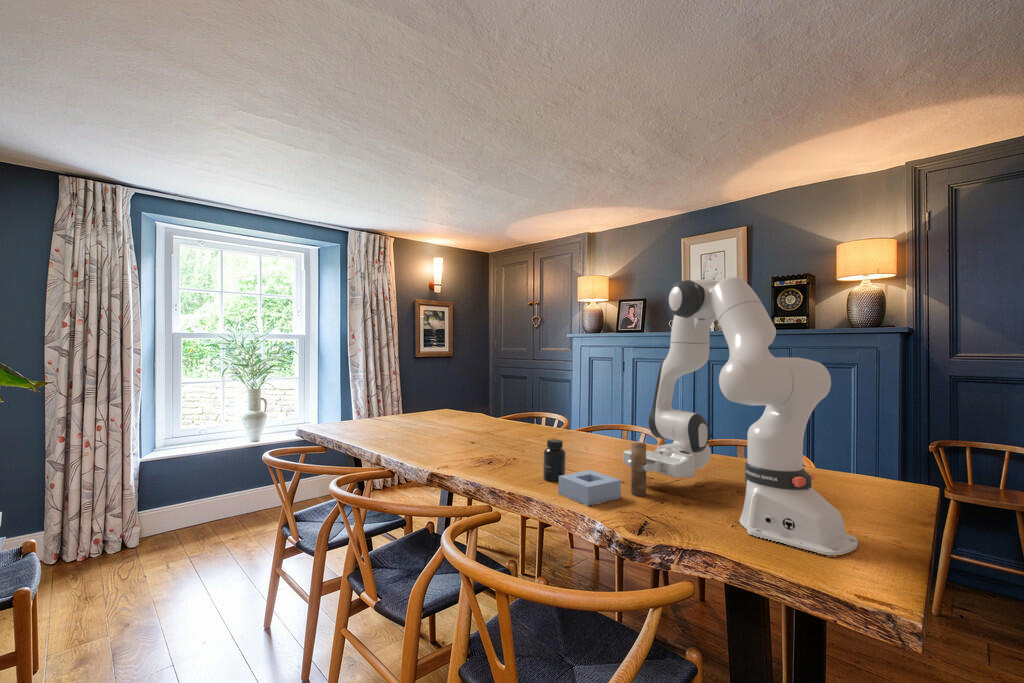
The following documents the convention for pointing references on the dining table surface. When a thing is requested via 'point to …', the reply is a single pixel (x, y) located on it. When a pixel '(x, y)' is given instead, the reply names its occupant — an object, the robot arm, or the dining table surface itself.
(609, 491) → the socket block
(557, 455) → the supplement bottle
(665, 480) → the dining table surface
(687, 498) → the dining table surface
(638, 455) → the dowel
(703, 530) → the dining table surface
